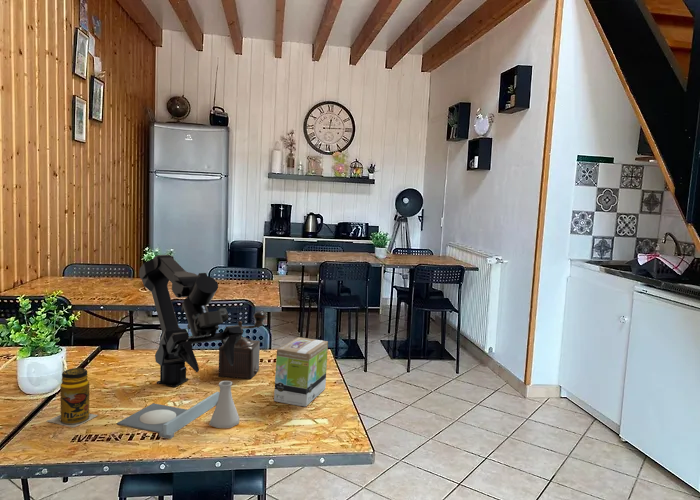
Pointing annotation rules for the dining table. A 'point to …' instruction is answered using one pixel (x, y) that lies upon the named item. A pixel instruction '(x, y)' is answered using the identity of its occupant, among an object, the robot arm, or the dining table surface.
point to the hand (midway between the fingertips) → (215, 367)
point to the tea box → (300, 371)
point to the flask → (225, 408)
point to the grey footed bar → (189, 416)
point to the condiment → (74, 398)
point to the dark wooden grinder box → (242, 355)
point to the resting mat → (152, 417)
